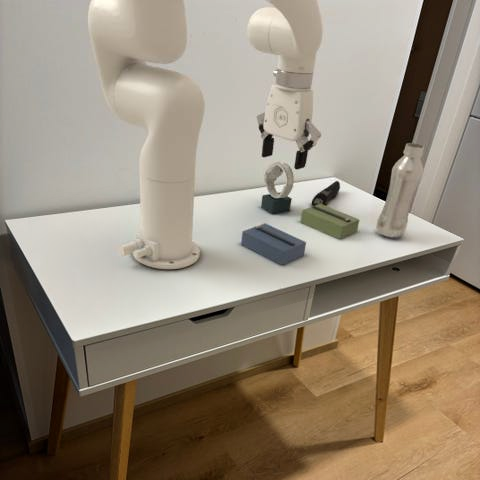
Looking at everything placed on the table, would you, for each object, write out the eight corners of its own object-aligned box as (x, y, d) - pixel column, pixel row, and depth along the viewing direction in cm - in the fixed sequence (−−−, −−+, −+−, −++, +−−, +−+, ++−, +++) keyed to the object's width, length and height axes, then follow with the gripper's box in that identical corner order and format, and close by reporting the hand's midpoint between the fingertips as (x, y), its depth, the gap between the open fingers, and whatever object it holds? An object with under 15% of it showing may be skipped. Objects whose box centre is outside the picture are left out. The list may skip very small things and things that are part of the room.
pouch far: (339, 239, 107) (343, 224, 105) (300, 222, 113) (302, 207, 110) (356, 231, 111) (360, 216, 109) (317, 215, 117) (320, 201, 115)
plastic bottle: (368, 230, 112) (392, 141, 101) (390, 227, 115) (415, 140, 104) (387, 242, 108) (414, 150, 96) (409, 239, 111) (438, 149, 99)
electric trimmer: (342, 193, 132) (344, 181, 131) (323, 209, 120) (326, 197, 119) (329, 190, 134) (331, 178, 132) (309, 205, 122) (312, 193, 120)
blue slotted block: (282, 265, 94) (284, 248, 92) (240, 244, 100) (242, 228, 98) (303, 255, 98) (307, 239, 96) (263, 236, 104) (265, 220, 102)
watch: (273, 201, 122) (280, 157, 115) (294, 213, 116) (302, 167, 110) (255, 204, 119) (261, 159, 113) (276, 217, 114) (282, 170, 107)
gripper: (251, 73, 104) (244, 154, 114) (316, 90, 95) (302, 176, 105) (274, 71, 109) (265, 149, 118) (338, 87, 99) (322, 170, 109)
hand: (282, 162), depth 112 cm, fingers open, 9 cm apart
